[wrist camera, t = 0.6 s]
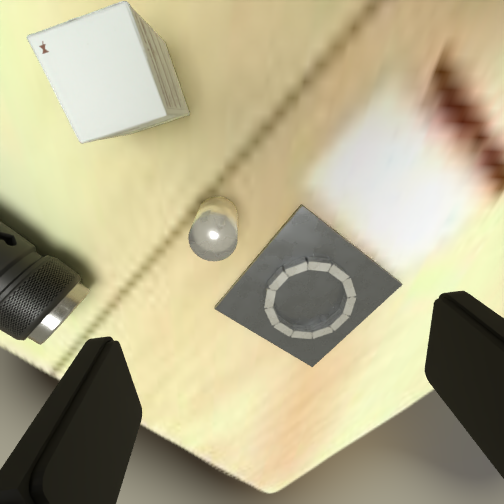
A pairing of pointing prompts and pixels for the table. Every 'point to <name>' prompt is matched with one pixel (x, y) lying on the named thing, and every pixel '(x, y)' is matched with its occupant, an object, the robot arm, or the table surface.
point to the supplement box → (110, 73)
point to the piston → (214, 229)
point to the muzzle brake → (34, 289)
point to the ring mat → (307, 289)
